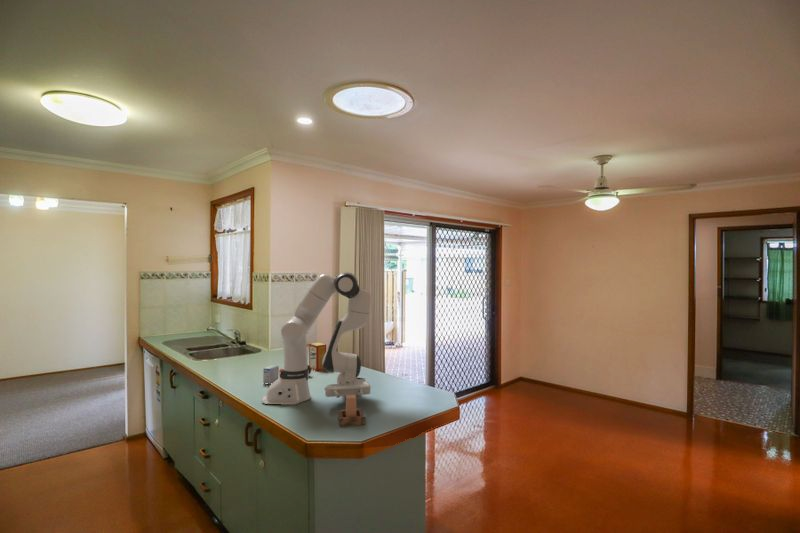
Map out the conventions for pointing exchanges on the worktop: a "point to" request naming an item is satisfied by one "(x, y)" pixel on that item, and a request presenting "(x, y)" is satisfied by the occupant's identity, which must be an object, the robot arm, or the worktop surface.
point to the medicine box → (270, 374)
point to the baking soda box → (316, 355)
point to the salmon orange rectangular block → (350, 405)
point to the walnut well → (351, 418)
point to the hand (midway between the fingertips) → (349, 395)
